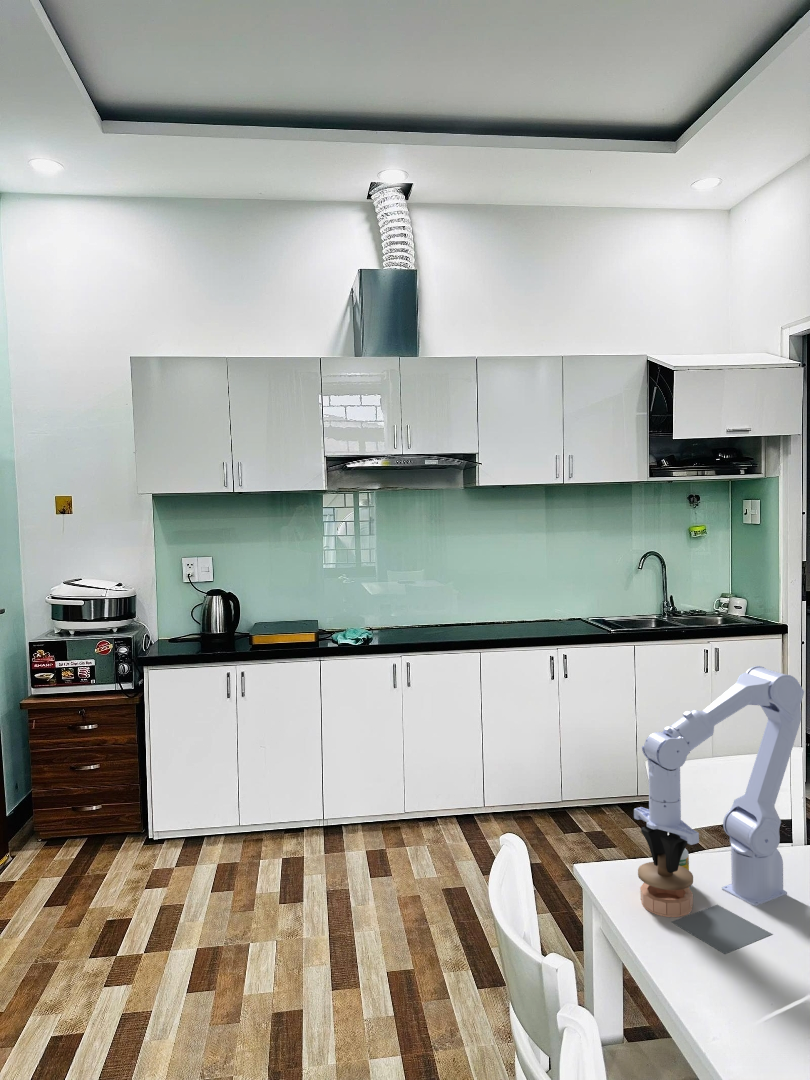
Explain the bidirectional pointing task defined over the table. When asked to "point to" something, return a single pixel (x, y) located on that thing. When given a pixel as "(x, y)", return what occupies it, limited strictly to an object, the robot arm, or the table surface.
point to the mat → (721, 928)
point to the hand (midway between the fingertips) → (665, 867)
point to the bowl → (666, 901)
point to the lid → (665, 875)
